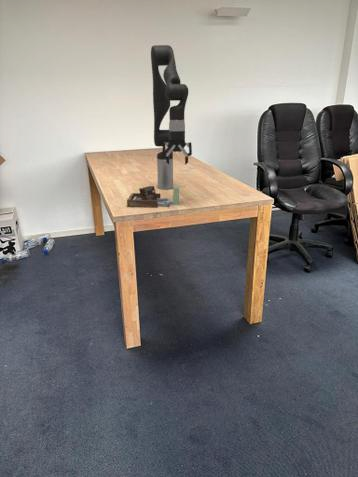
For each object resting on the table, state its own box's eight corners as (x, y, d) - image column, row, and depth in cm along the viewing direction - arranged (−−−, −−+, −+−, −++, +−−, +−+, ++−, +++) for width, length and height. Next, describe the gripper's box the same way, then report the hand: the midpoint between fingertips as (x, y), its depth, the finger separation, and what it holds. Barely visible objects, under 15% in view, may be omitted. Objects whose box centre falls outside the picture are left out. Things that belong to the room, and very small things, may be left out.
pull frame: (134, 201, 189) (134, 184, 186) (179, 201, 189) (179, 184, 185) (132, 206, 181) (131, 188, 177) (178, 206, 180) (178, 189, 176)
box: (147, 203, 180) (143, 188, 178) (142, 202, 185) (138, 188, 184) (157, 200, 183) (154, 185, 181) (152, 199, 188) (149, 185, 186)
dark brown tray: (132, 199, 192) (131, 193, 191) (160, 199, 191) (160, 193, 190) (127, 207, 180) (126, 200, 178) (157, 207, 179) (157, 200, 177)
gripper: (192, 129, 174) (192, 162, 180) (162, 129, 174) (163, 162, 181) (191, 130, 167) (191, 165, 173) (161, 130, 168) (161, 165, 174)
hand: (177, 164), depth 177 cm, fingers open, 8 cm apart
